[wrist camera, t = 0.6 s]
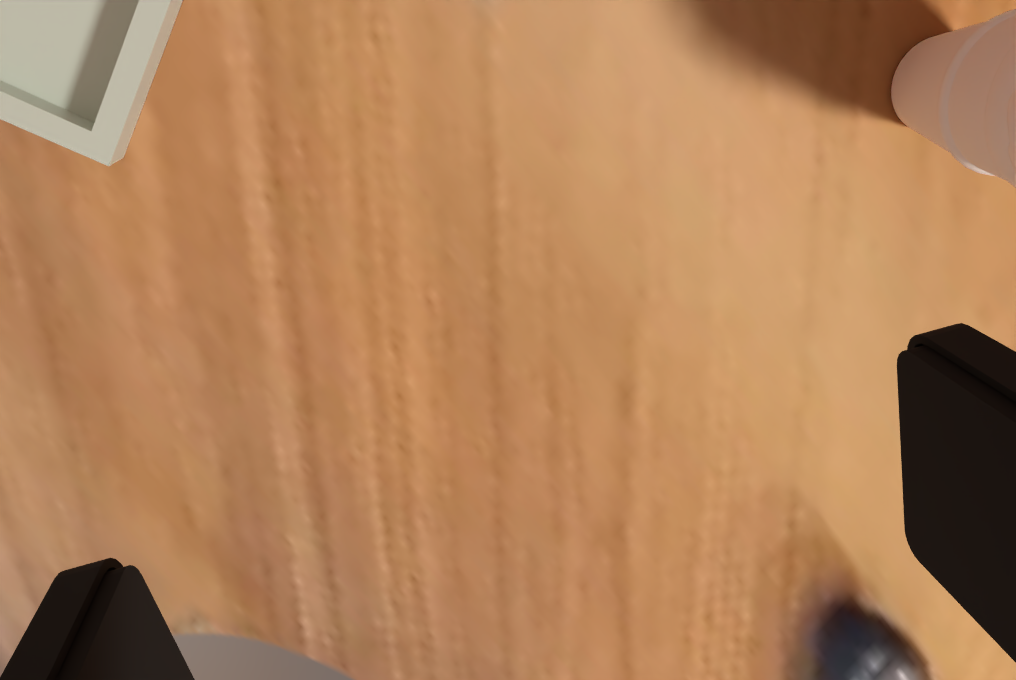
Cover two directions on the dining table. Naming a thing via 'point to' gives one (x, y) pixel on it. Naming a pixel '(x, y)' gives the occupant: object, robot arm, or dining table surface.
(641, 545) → the dining table surface
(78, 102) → the tray
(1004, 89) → the soft serve ice cream cone
